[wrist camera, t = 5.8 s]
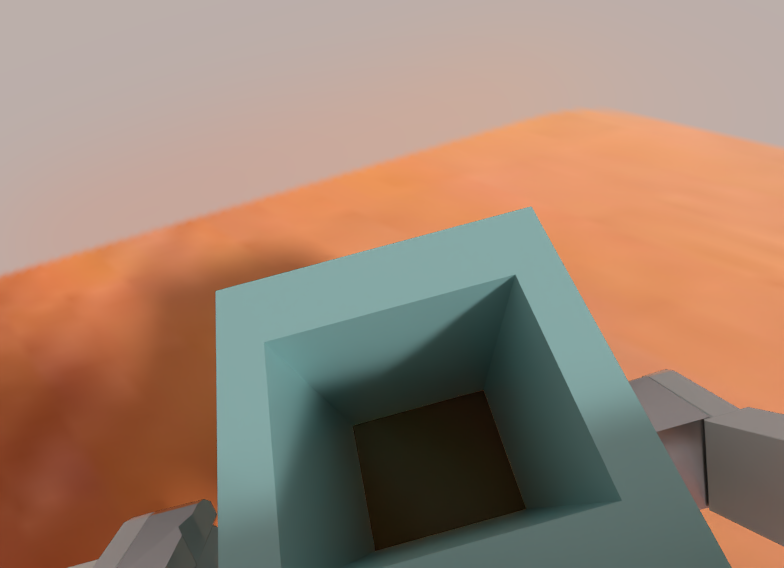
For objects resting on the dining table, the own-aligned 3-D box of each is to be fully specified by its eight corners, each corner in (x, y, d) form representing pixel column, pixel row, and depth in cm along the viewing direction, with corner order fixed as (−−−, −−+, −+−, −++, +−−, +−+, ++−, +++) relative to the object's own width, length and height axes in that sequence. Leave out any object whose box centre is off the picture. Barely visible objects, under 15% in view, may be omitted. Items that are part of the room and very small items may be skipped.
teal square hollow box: (575, 554, 12) (754, 609, 5) (355, 615, 12) (219, 760, 5) (493, 347, 15) (531, 206, 8) (322, 394, 15) (215, 290, 8)
